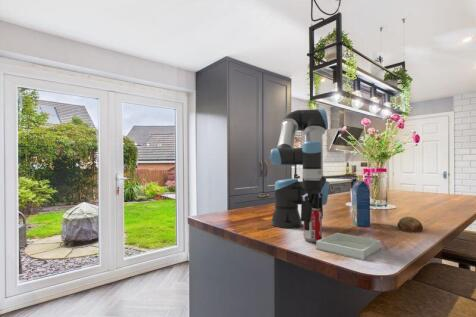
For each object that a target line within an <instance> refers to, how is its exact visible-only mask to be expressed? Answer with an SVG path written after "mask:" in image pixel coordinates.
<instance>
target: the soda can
mask: <svg viewBox="0 0 476 317" xmlns="http://www.w3.org/2000/svg"><path fill="white" fill-rule="evenodd" d="M322 220H323V219H322V213H321V211H320V208H319V209H315V208H313V207H312V213H311V219H310V222H311V223H312V239H308V238H305V233H304V232H303V239H304V240H305V241H306V242H309V243H310V242H311V243H316V241H318V240H320V239H323V228H322V227H323V224H322V223H323V221H322Z"/></svg>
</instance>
